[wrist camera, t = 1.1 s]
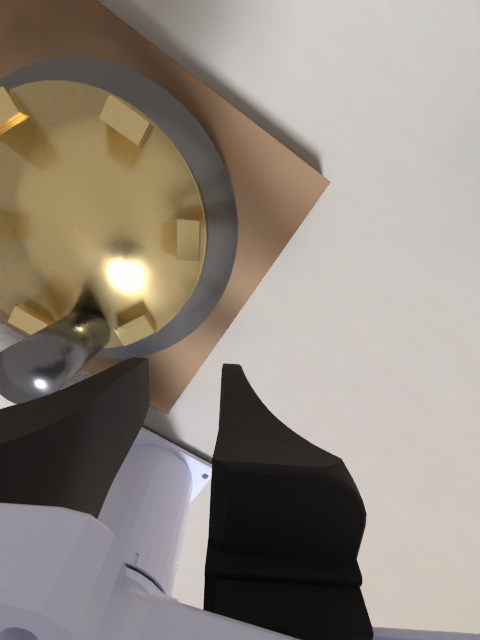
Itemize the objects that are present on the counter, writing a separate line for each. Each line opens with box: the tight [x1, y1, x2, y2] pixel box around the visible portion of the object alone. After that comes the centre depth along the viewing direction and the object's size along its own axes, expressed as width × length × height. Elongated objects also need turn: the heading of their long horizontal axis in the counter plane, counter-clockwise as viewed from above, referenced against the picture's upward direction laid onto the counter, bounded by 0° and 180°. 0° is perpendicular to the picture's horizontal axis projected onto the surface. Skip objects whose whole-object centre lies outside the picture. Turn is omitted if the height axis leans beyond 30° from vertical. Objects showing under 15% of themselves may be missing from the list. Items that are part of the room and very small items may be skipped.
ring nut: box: [0, 80, 209, 404], centre depth 13 cm, size 12×12×6 cm
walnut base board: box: [0, 0, 330, 414], centre depth 18 cm, size 18×18×2 cm
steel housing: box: [0, 57, 238, 359], centre depth 17 cm, size 15×15×2 cm
